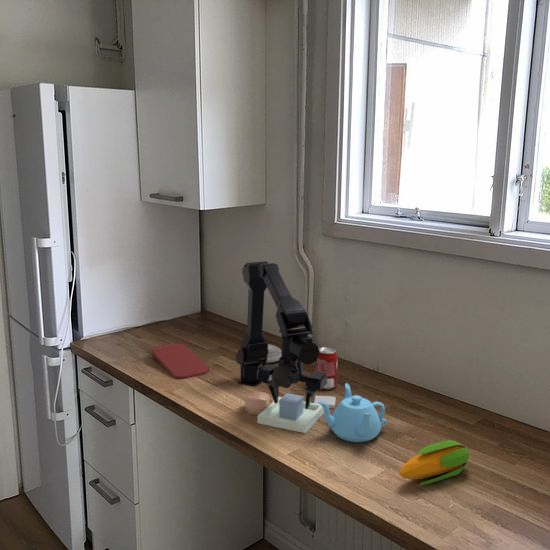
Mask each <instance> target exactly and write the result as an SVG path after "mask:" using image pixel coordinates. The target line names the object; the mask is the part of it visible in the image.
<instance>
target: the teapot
mask: <svg viewBox="0 0 550 550" xmlns="http://www.w3.org/2000/svg"><path fill="white" fill-rule="evenodd" d="M344 388H345V389H344V398H343V399H342V400H341V401H340V402H339V404H338V405H337V407H335V408H334V412H333V413H332V414H331V411H330V408H329V407H328V405H327V404H326V403H325V402H318V403H319V404H320V405H322V407H323V409H324V413H323V416H324V420H325V423H326V424H327V425H328V426H329V427H330V428H331V430H332V432H333V433H334V434H335V435H336V436H337V437H338V438H339V439H341V440H343V441H345V442H346V441H347V442H350V443H351V442H352V443H365V442H369V441H371V440H373V439H375V438H376V437H378V435H379V434H380V432H381V430H382V428H383V427H385V426H386V425H387V419H386V418H383V417H384V416H385V413H386V408H385V405H384V404H383V402H380V401H373V402H371V401H370V400H368V399H366V398H364V397H362V396H360V395H352V391H351V386H350V384H349V383H347V382H346V383H345V384H344ZM376 406H380V409H381V410H380V413H378V411H377V410H376V408H375V407H376Z"/></svg>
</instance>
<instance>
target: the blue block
mask: <svg viewBox="0 0 550 550" xmlns="http://www.w3.org/2000/svg"><path fill="white" fill-rule="evenodd" d="M281 397H282V398H281V399H280V400H279V417H283V418H288V419H292V420H297V419H298V418H299V417H300V416H301V415H302V414H303V401H304V396H303V395H298V394H293V393H285V394H284V395H283V396H281Z"/></svg>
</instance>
